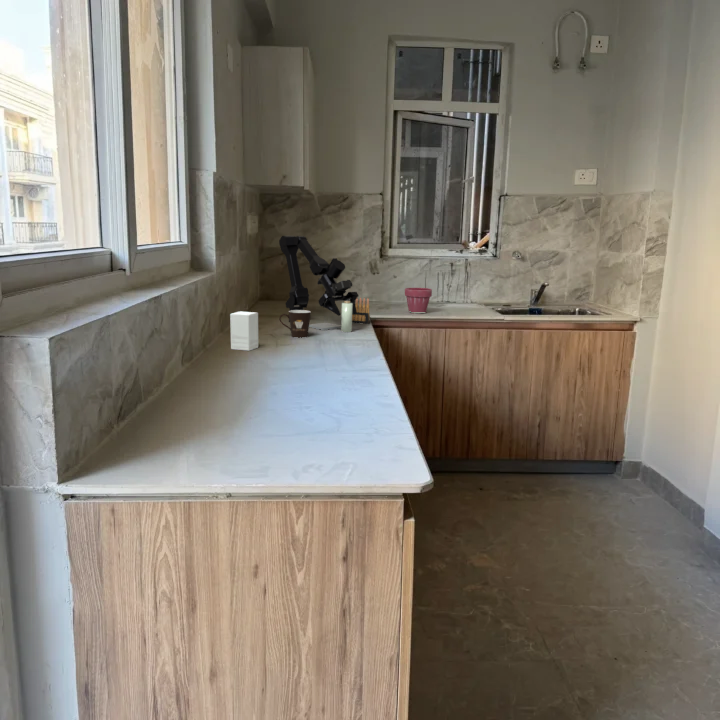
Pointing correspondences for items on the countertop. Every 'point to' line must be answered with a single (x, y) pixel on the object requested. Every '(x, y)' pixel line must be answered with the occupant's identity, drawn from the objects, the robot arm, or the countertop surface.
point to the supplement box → (244, 330)
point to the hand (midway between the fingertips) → (347, 314)
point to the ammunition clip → (361, 312)
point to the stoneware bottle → (346, 317)
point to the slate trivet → (324, 326)
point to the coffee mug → (298, 322)
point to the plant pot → (418, 298)
